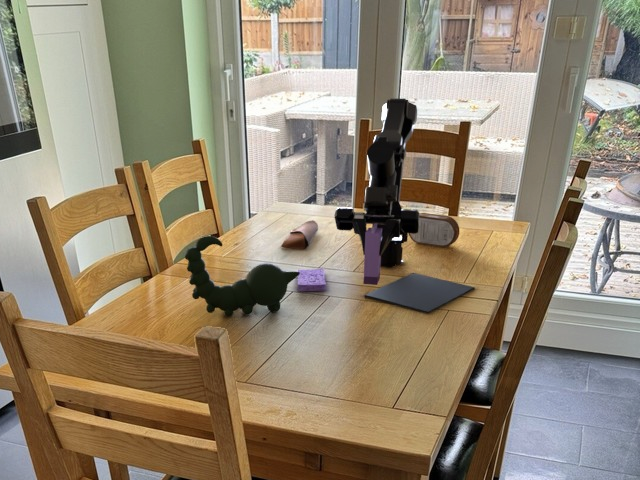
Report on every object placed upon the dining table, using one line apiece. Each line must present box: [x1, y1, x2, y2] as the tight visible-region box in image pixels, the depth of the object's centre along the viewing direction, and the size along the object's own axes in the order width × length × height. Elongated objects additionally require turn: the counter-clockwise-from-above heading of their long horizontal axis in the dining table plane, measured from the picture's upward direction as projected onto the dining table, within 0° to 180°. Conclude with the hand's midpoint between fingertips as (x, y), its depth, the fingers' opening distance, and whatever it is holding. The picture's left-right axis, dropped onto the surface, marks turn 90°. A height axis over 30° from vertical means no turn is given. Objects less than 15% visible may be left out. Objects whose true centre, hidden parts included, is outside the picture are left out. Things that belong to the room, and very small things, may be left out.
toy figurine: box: [184, 235, 300, 318], centre depth 162 cm, size 9×19×25 cm
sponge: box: [297, 268, 327, 292], centre depth 182 cm, size 7×13×2 cm, turn 179°
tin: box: [408, 212, 460, 248], centre depth 205 cm, size 15×3×8 cm, turn 58°
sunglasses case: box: [280, 220, 319, 251], centre depth 213 cm, size 18×7×7 cm
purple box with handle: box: [362, 223, 382, 286], centre depth 161 cm, size 5×3×12 cm
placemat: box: [364, 272, 475, 315], centre depth 174 cm, size 18×21×1 cm
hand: (372, 254), depth 160 cm, fingers closed on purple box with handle, 3 cm apart
